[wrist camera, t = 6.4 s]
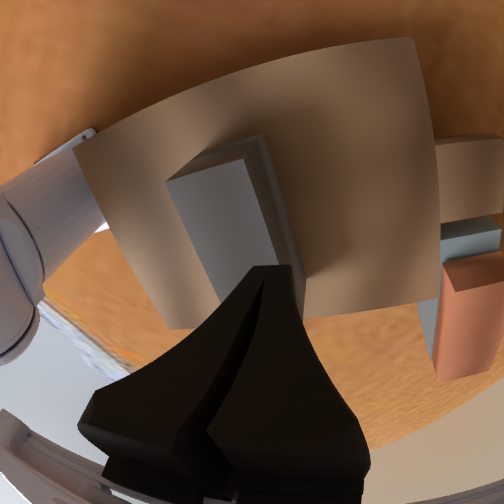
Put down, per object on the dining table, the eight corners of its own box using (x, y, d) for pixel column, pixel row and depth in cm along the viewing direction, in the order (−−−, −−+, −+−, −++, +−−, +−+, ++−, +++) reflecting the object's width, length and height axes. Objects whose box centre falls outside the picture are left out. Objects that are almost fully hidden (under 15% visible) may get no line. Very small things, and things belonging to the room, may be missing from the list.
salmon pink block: (431, 355, 18) (437, 383, 16) (441, 262, 14) (455, 292, 12) (480, 343, 17) (489, 370, 15) (501, 250, 13) (519, 277, 11)
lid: (179, 311, 23) (148, 372, 18) (92, 138, 16) (23, 174, 11) (481, 266, 16) (516, 333, 11) (468, 37, 9) (537, 34, 4)
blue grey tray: (218, 333, 29) (203, 377, 24) (119, 126, 19) (71, 148, 15) (459, 301, 22) (477, 347, 17) (445, 40, 12) (487, 35, 8)
